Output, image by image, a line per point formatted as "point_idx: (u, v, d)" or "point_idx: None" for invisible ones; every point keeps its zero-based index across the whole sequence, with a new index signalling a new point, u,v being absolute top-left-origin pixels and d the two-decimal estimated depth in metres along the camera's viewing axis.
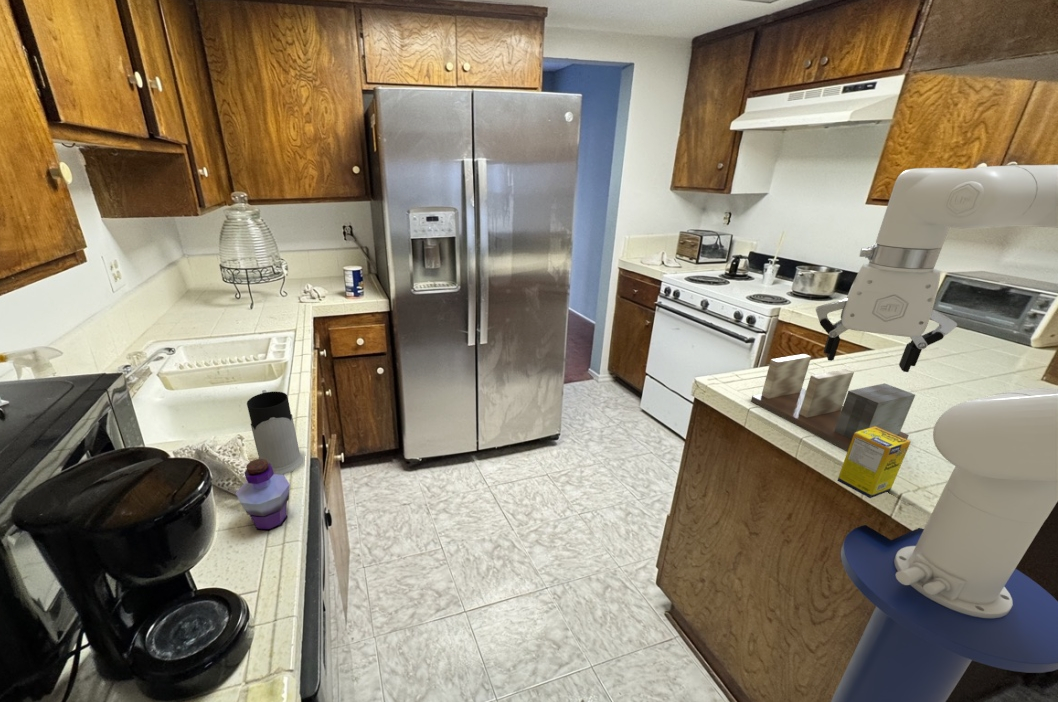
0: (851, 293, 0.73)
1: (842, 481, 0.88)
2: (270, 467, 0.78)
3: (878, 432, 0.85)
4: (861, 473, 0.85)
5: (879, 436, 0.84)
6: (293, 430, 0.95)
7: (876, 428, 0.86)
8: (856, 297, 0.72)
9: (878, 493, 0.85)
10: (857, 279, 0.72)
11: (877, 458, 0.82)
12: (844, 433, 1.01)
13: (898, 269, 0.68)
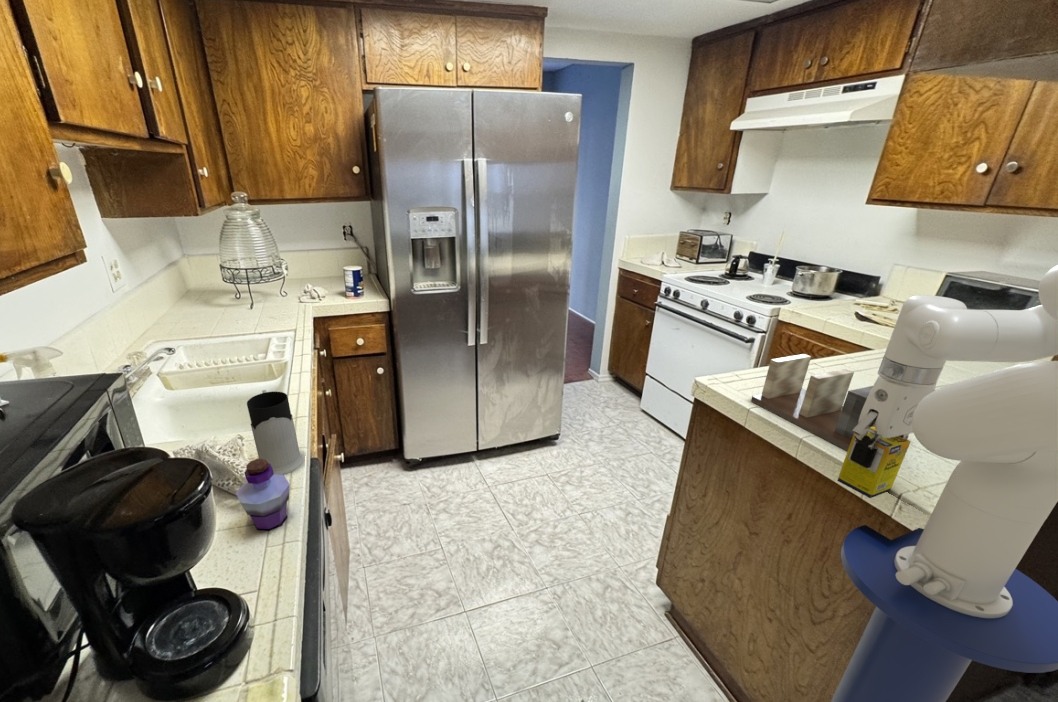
0: (888, 408, 0.78)
1: (842, 481, 0.88)
2: (270, 467, 0.78)
3: None
4: (861, 473, 0.85)
5: None
6: (293, 430, 0.95)
7: None
8: (895, 412, 0.77)
9: (878, 493, 0.85)
10: (891, 396, 0.77)
11: (877, 458, 0.82)
12: (844, 433, 1.01)
13: (928, 385, 0.75)
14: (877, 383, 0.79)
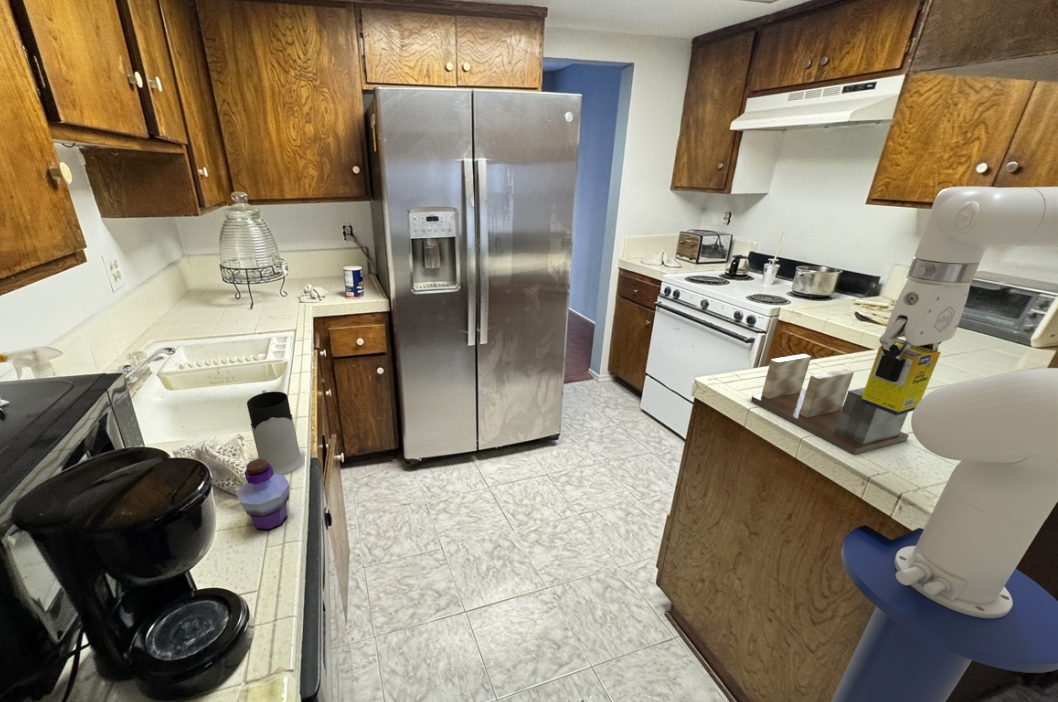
0: (919, 311, 0.72)
1: (866, 401, 0.83)
2: (270, 467, 0.78)
3: None
4: (887, 389, 0.80)
5: None
6: (293, 430, 0.95)
7: None
8: (926, 315, 0.72)
9: (905, 410, 0.80)
10: (922, 297, 0.72)
11: (905, 370, 0.77)
12: (844, 433, 1.01)
13: (963, 283, 0.70)
14: (906, 286, 0.74)
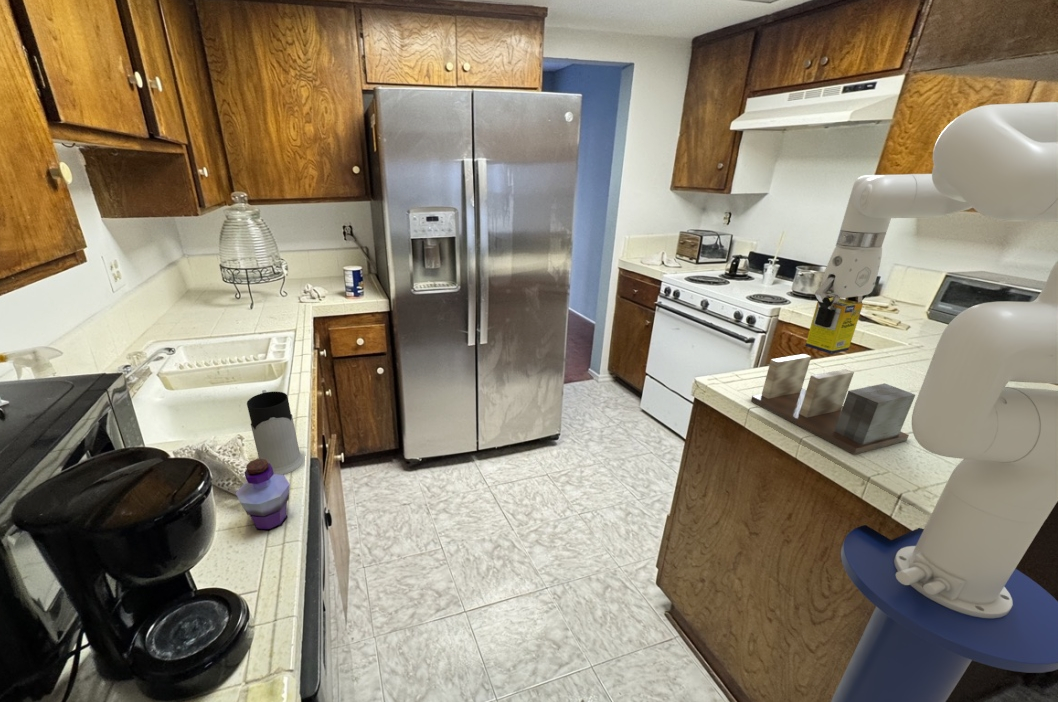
0: (843, 270, 0.95)
1: (809, 345, 1.06)
2: (270, 467, 0.78)
3: None
4: (824, 334, 1.03)
5: (838, 301, 1.01)
6: (293, 430, 0.95)
7: None
8: (848, 273, 0.95)
9: (838, 350, 1.02)
10: (845, 259, 0.95)
11: (836, 317, 1.00)
12: (844, 433, 1.01)
13: (874, 248, 0.93)
14: (834, 252, 0.97)
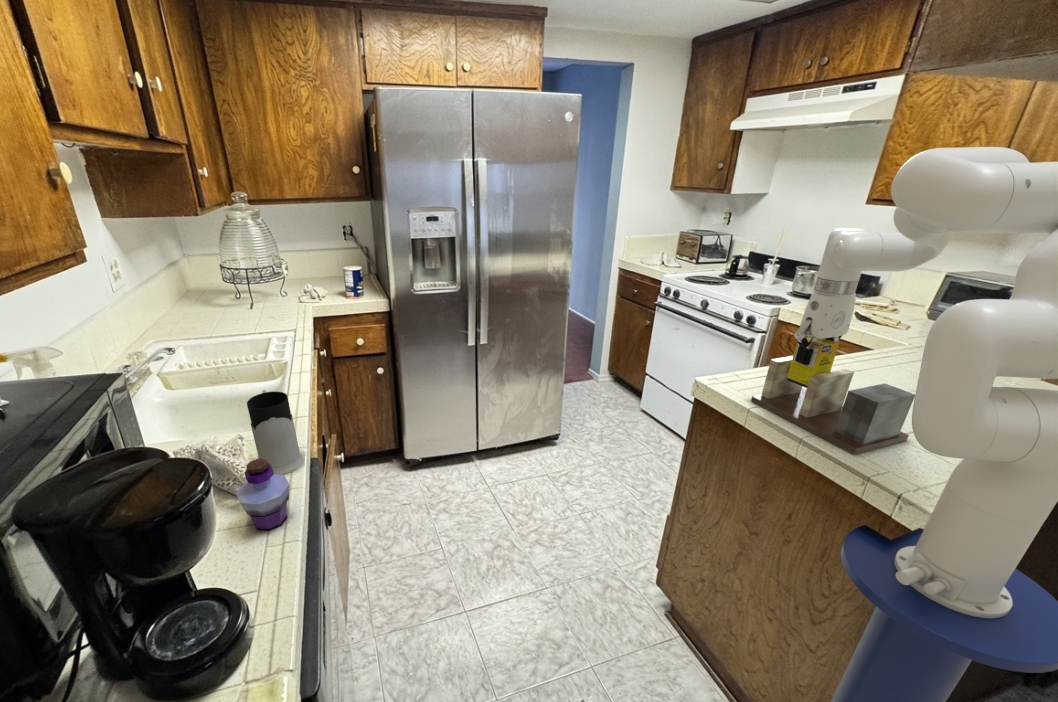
0: (819, 314, 1.03)
1: (790, 379, 1.14)
2: (270, 467, 0.78)
3: None
4: (803, 370, 1.11)
5: (816, 340, 1.09)
6: (293, 430, 0.95)
7: None
8: (824, 317, 1.03)
9: None
10: (821, 305, 1.03)
11: (814, 356, 1.08)
12: (844, 433, 1.01)
13: (847, 295, 1.01)
14: (812, 297, 1.05)
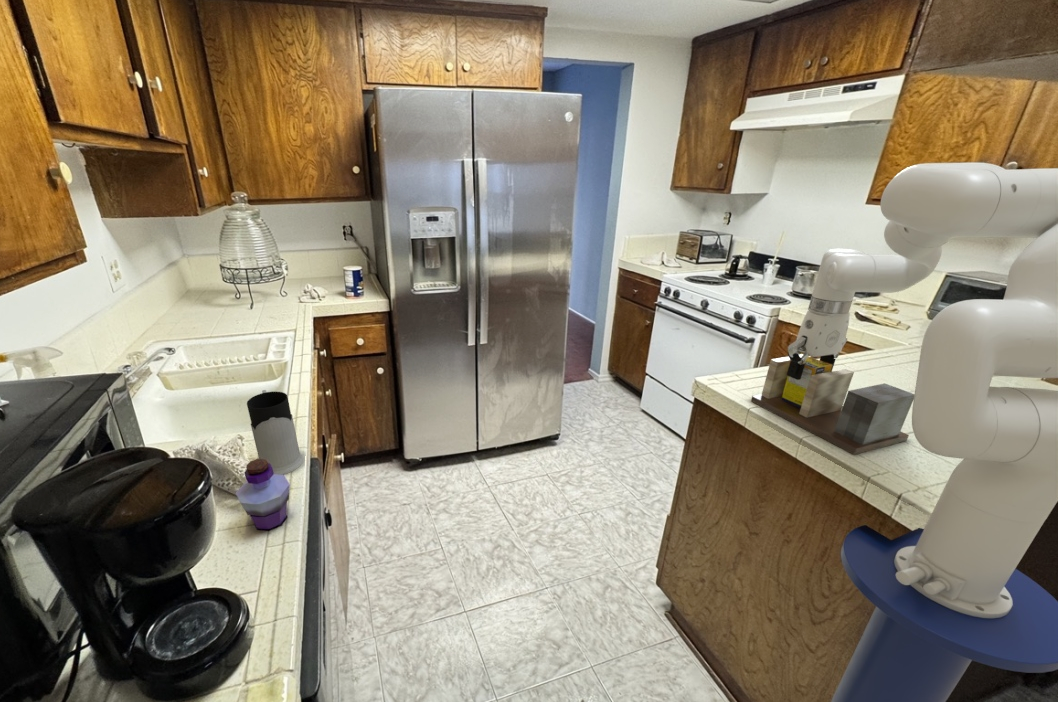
0: (813, 333, 1.05)
1: (784, 399, 1.16)
2: (270, 467, 0.78)
3: (810, 359, 1.13)
4: (797, 391, 1.13)
5: (809, 362, 1.11)
6: (293, 430, 0.95)
7: (809, 357, 1.14)
8: (818, 336, 1.05)
9: None
10: (815, 324, 1.04)
11: (807, 377, 1.10)
12: (844, 433, 1.01)
13: (841, 315, 1.03)
14: (806, 315, 1.07)
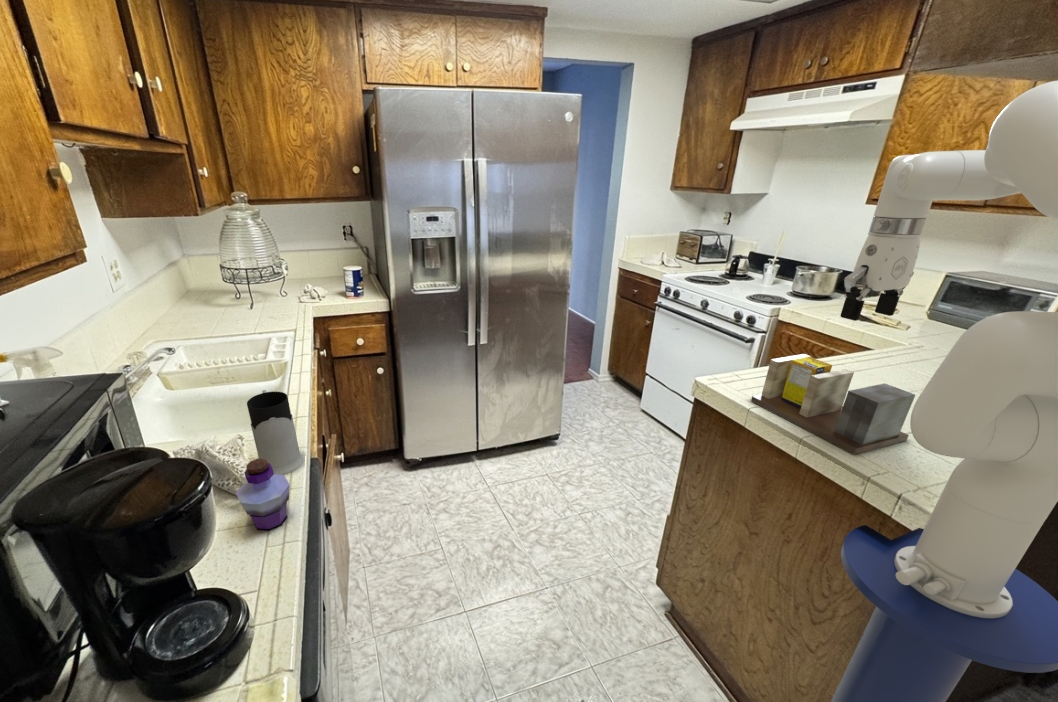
0: (877, 260, 0.86)
1: (784, 399, 1.16)
2: (270, 467, 0.78)
3: (810, 359, 1.13)
4: (797, 391, 1.13)
5: (809, 362, 1.11)
6: (293, 430, 0.95)
7: (809, 357, 1.14)
8: (883, 263, 0.86)
9: None
10: (880, 248, 0.86)
11: (807, 377, 1.10)
12: (844, 433, 1.01)
13: (913, 236, 0.84)
14: (867, 240, 0.88)
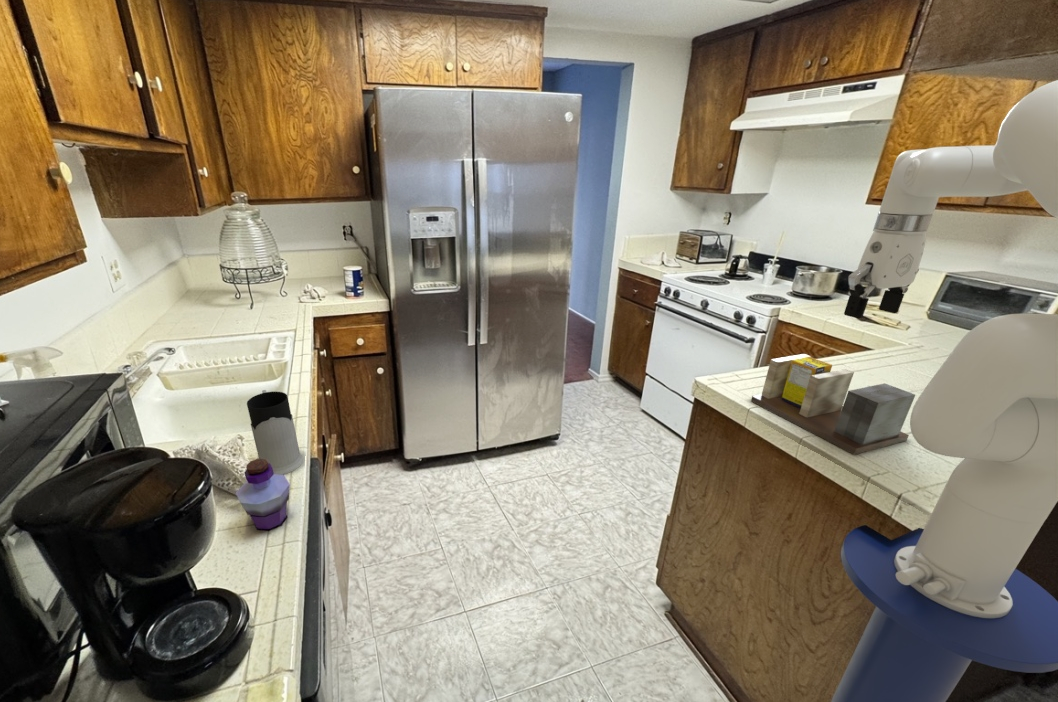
0: (882, 258, 0.85)
1: (784, 399, 1.16)
2: (270, 467, 0.78)
3: (809, 359, 1.13)
4: (797, 391, 1.13)
5: (809, 362, 1.11)
6: (293, 430, 0.95)
7: (809, 357, 1.14)
8: (888, 260, 0.85)
9: None
10: (885, 245, 0.84)
11: (807, 377, 1.10)
12: (844, 433, 1.01)
13: (919, 232, 0.83)
14: (872, 237, 0.87)
